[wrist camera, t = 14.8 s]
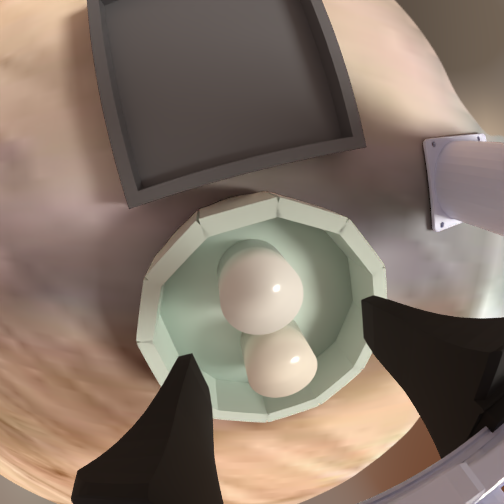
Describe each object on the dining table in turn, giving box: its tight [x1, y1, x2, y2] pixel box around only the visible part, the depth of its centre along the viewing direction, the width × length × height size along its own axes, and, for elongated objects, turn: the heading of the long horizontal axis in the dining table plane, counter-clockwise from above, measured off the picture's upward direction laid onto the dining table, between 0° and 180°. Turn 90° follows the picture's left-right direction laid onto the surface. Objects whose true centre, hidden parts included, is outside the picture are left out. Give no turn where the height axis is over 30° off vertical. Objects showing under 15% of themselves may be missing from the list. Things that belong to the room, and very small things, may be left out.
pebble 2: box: [240, 320, 317, 398], centre depth 19 cm, size 4×4×4 cm
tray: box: [87, 0, 366, 209], centre depth 15 cm, size 15×16×2 cm
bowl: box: [136, 191, 387, 422], centre depth 19 cm, size 16×16×4 cm
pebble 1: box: [217, 239, 303, 335], centre depth 17 cm, size 4×4×4 cm
